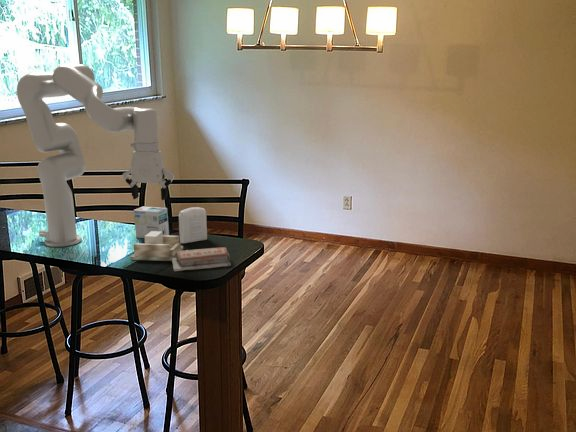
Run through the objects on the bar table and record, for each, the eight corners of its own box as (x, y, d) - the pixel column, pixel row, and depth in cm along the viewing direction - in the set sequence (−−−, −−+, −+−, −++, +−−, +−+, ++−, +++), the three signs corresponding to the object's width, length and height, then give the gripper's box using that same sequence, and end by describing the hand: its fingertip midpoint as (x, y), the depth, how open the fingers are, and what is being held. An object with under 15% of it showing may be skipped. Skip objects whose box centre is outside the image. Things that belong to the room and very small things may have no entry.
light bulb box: (169, 235, 224) (167, 207, 221) (160, 240, 218) (158, 211, 215) (145, 233, 228) (142, 205, 225) (135, 237, 221) (132, 209, 219)
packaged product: (225, 243, 198) (230, 252, 189) (226, 257, 200) (231, 267, 190) (170, 248, 194) (173, 258, 185) (171, 262, 195) (174, 273, 186)
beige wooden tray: (130, 259, 197) (129, 245, 196) (144, 247, 210) (143, 233, 208) (171, 260, 195) (170, 246, 194) (183, 248, 208) (182, 234, 207)
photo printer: (204, 237, 221) (202, 204, 218) (209, 239, 218) (207, 206, 215) (178, 241, 216) (176, 208, 213) (183, 244, 212) (181, 211, 209)
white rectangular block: (145, 253, 200) (144, 236, 199) (152, 247, 206) (151, 231, 204) (157, 253, 200) (156, 236, 198) (163, 248, 205) (162, 231, 204)
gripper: (116, 148, 191) (120, 200, 195) (169, 149, 189) (171, 202, 193) (125, 145, 198) (129, 195, 202) (176, 146, 196) (178, 197, 200)
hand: (149, 198), depth 198 cm, fingers open, 9 cm apart
